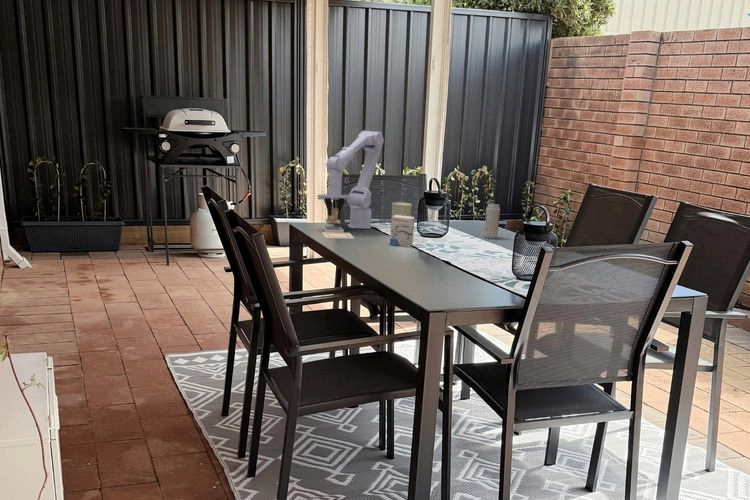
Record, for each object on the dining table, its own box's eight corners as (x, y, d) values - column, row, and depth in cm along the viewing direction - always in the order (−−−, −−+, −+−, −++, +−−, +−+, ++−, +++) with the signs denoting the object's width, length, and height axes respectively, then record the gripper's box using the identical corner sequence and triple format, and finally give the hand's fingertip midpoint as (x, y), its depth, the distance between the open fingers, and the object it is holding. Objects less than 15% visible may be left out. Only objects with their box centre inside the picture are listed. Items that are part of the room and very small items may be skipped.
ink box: (389, 245, 271) (391, 216, 269) (392, 243, 276) (394, 214, 274) (410, 247, 269) (412, 218, 267) (413, 245, 274) (415, 216, 271)
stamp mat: (349, 233, 291) (349, 232, 291) (354, 239, 280) (354, 237, 280) (321, 233, 288) (321, 232, 288) (325, 238, 277) (325, 237, 277)
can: (390, 226, 317) (391, 200, 314) (409, 227, 317) (411, 201, 314) (390, 229, 307) (392, 203, 305) (410, 230, 308) (412, 204, 305)
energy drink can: (483, 236, 303) (486, 203, 300) (496, 237, 303) (499, 204, 300) (484, 238, 298) (487, 205, 295) (497, 239, 297) (501, 206, 294)
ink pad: (340, 229, 301) (340, 226, 300) (343, 232, 293) (343, 229, 293) (322, 228, 299) (322, 226, 299) (325, 232, 291) (325, 229, 291)
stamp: (336, 222, 299) (337, 207, 297) (340, 224, 294) (341, 209, 293) (326, 222, 297) (326, 207, 295) (329, 224, 292) (329, 209, 291)
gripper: (348, 184, 298) (346, 214, 301) (316, 183, 293) (315, 214, 296) (353, 186, 292) (351, 217, 294) (320, 185, 286) (319, 217, 289)
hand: (333, 216), depth 295 cm, fingers closed on stamp, 3 cm apart
